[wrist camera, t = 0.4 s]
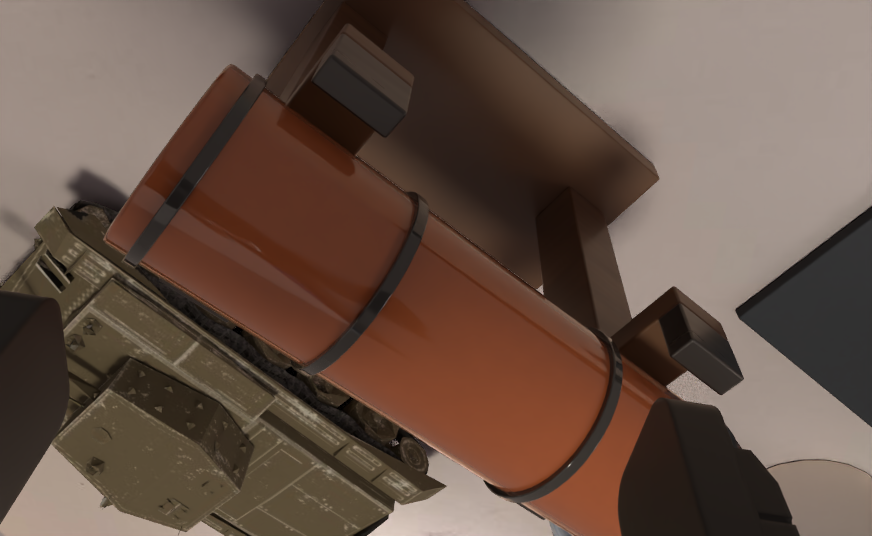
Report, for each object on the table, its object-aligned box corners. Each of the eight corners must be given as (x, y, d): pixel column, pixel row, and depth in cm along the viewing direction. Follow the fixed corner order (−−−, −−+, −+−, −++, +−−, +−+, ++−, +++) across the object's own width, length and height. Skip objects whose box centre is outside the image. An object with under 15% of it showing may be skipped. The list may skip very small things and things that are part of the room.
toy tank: (324, 527, 45) (288, 704, 36) (-41, 284, 37) (-196, 440, 28) (451, 443, 41) (443, 620, 32) (71, 148, 33) (-71, 283, 24)
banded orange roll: (256, 27, 18) (187, 110, 13) (727, 390, 23) (782, 531, 18) (152, 178, 20) (65, 288, 16) (602, 478, 25) (627, 622, 21)
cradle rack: (382, -79, 27) (311, 37, 16) (658, 162, 32) (758, 389, 20) (267, 79, 31) (139, 269, 19) (531, 278, 35) (555, 529, 24)
